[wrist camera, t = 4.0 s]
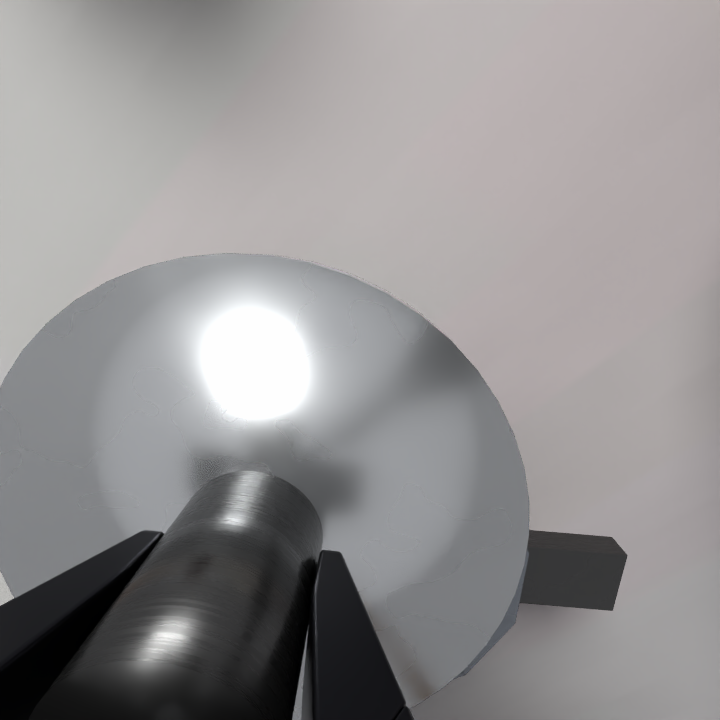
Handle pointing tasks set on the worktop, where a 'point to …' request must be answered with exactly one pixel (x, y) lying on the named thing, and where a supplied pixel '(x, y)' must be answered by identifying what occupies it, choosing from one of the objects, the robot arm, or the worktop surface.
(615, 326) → the worktop surface
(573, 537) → the pot
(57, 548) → the lid
